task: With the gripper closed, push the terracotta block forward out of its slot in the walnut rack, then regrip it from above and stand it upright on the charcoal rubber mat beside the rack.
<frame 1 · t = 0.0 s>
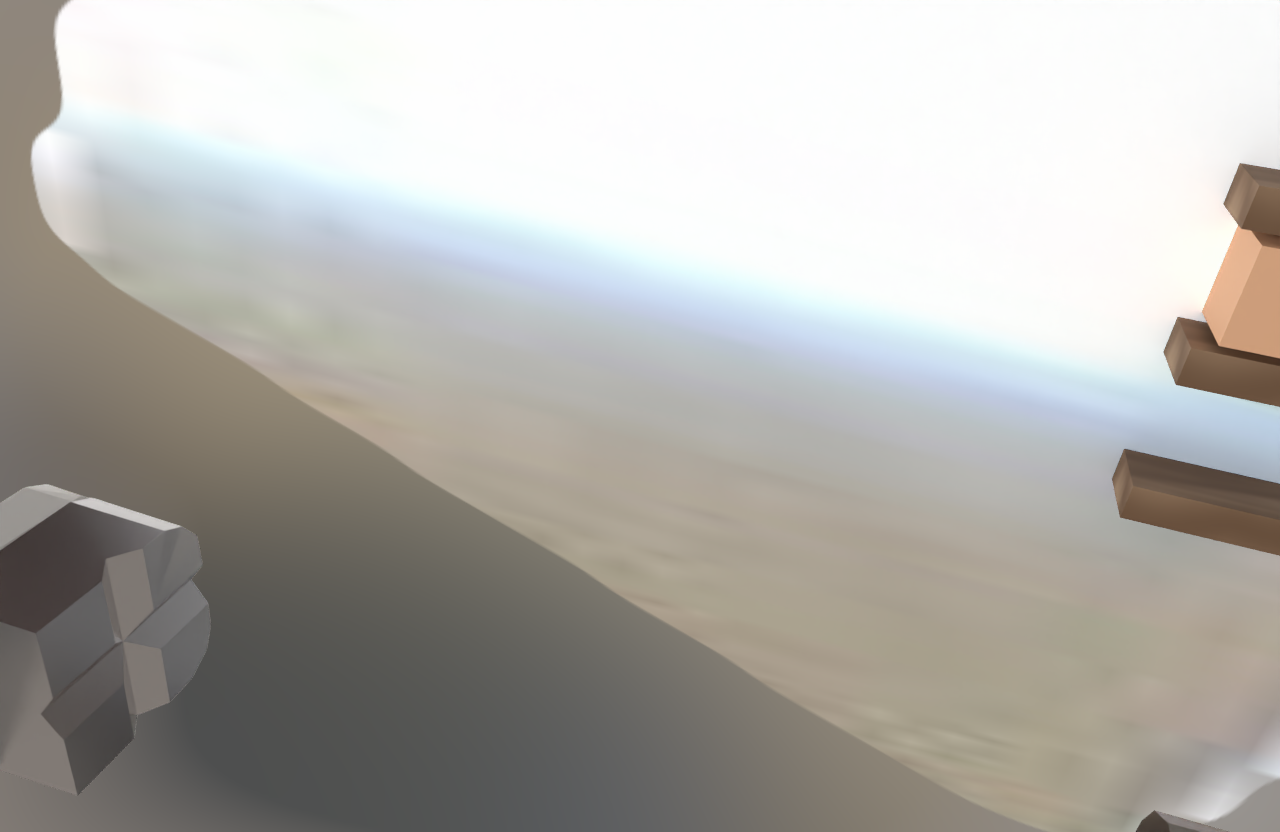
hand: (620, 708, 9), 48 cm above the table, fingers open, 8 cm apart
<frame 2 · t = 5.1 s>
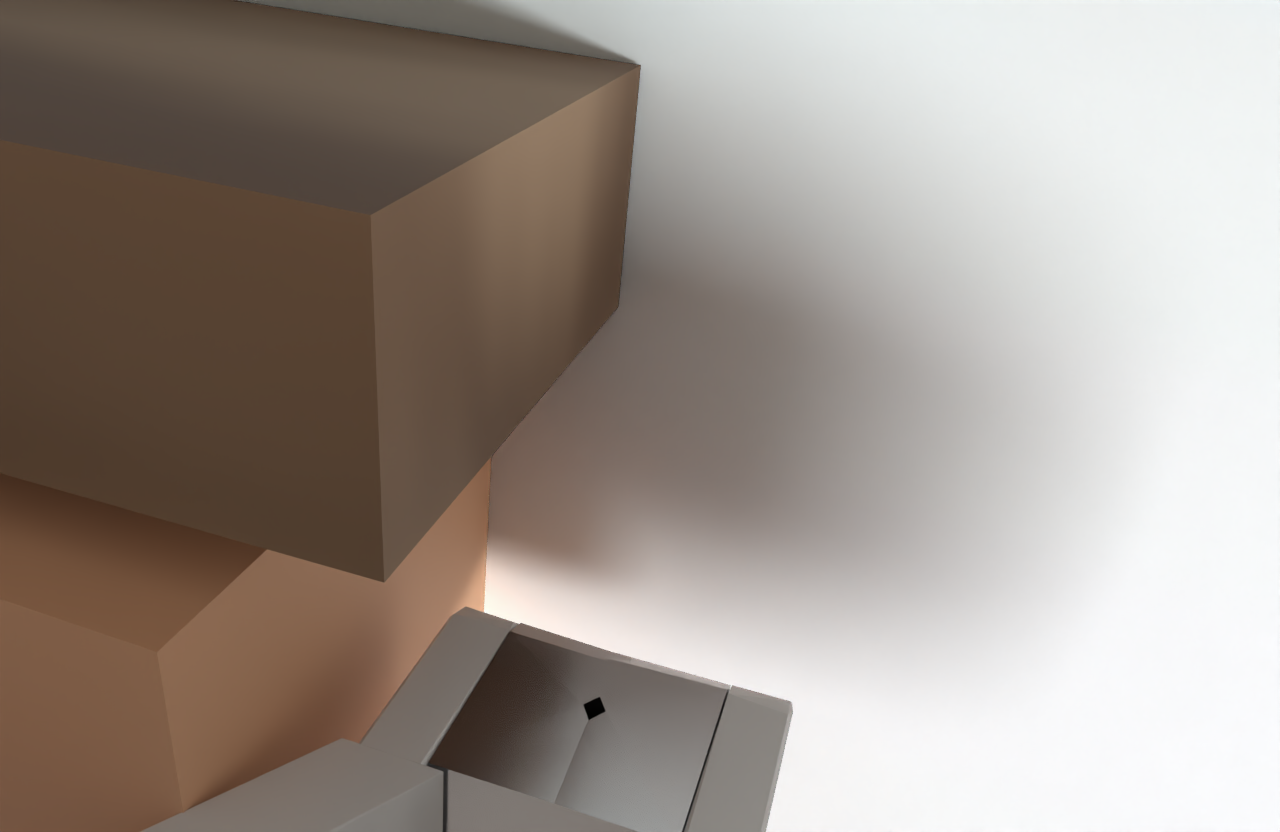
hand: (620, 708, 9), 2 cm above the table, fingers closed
terracotta block: (236, 476, 11), on the table, touching gripper
walnut rack: (89, 444, 11), on the table
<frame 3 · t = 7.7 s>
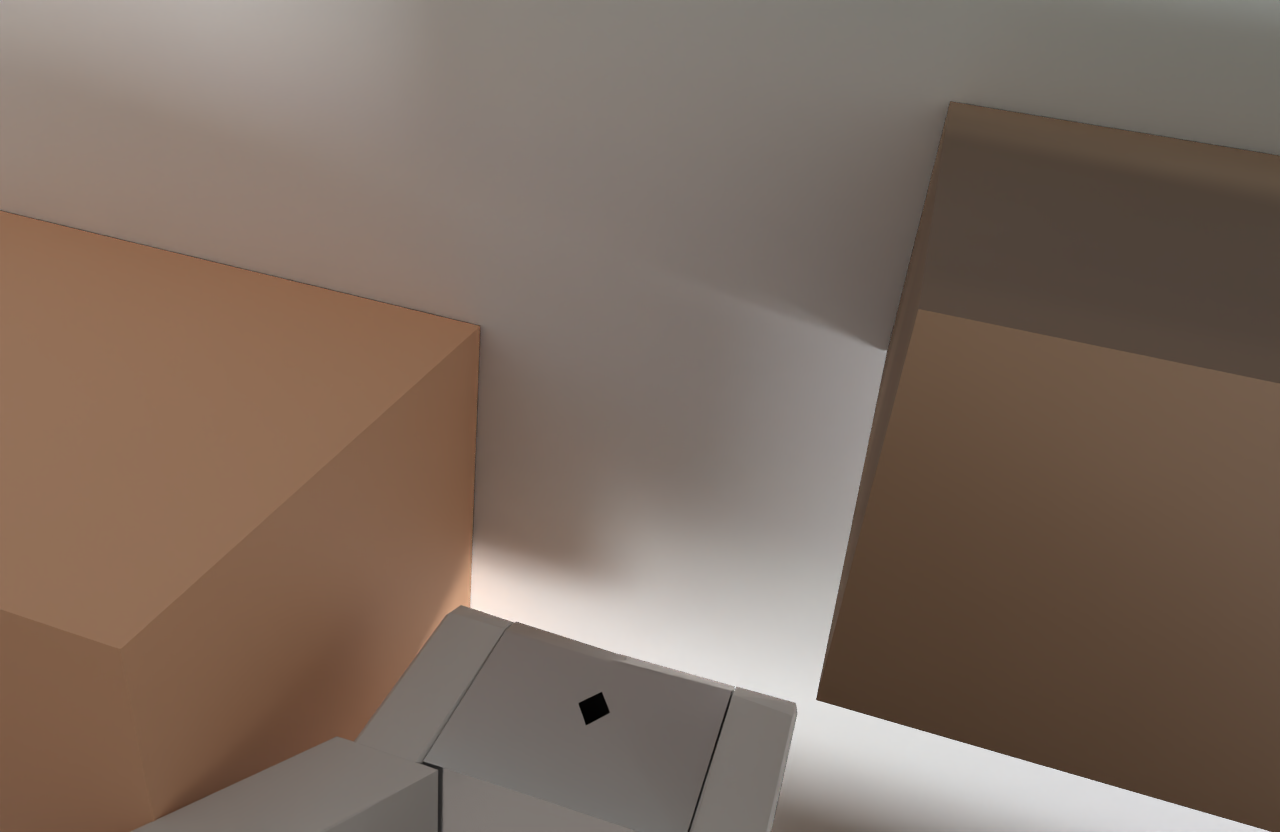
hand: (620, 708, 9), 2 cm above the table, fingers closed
terracotta block: (217, 473, 11), on the table, touching gripper
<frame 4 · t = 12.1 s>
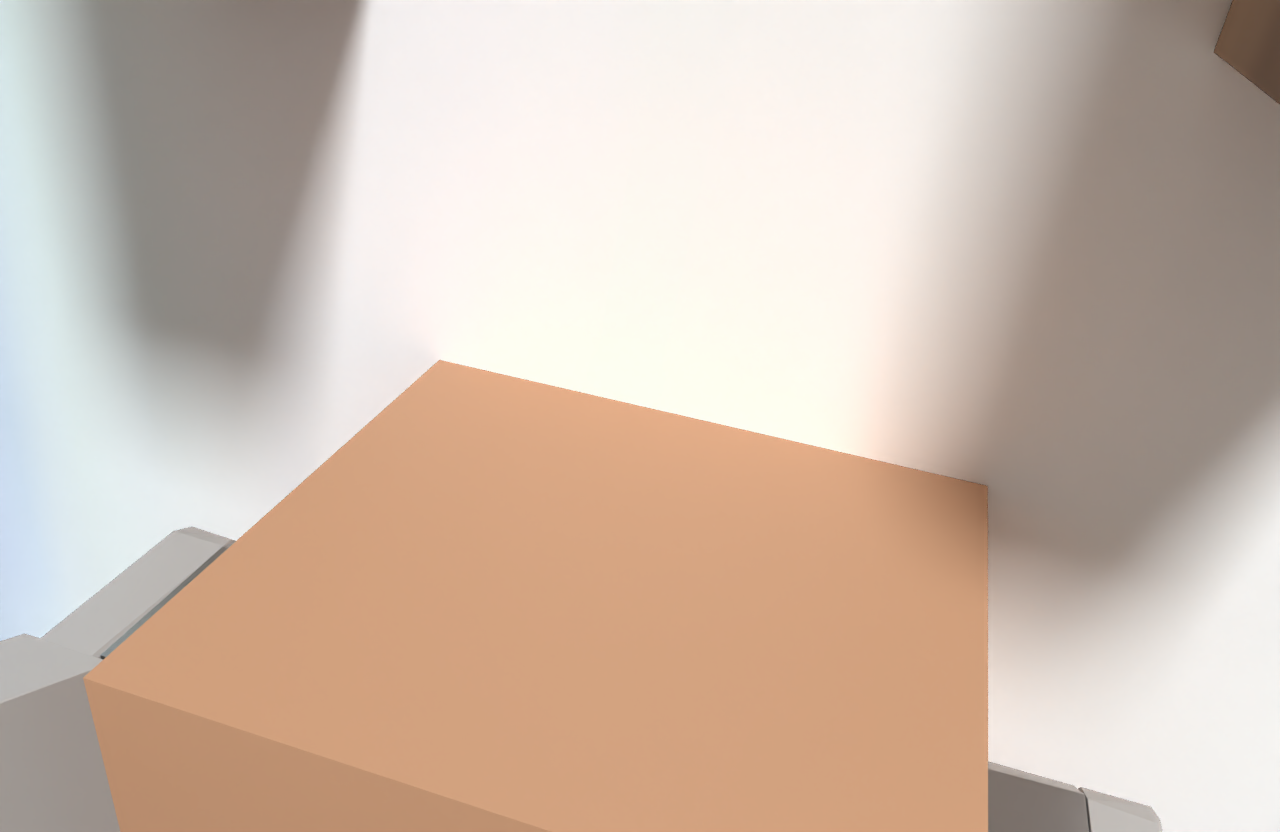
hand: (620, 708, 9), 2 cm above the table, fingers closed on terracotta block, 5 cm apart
terracotta block: (664, 665, 10), on the table, touching gripper
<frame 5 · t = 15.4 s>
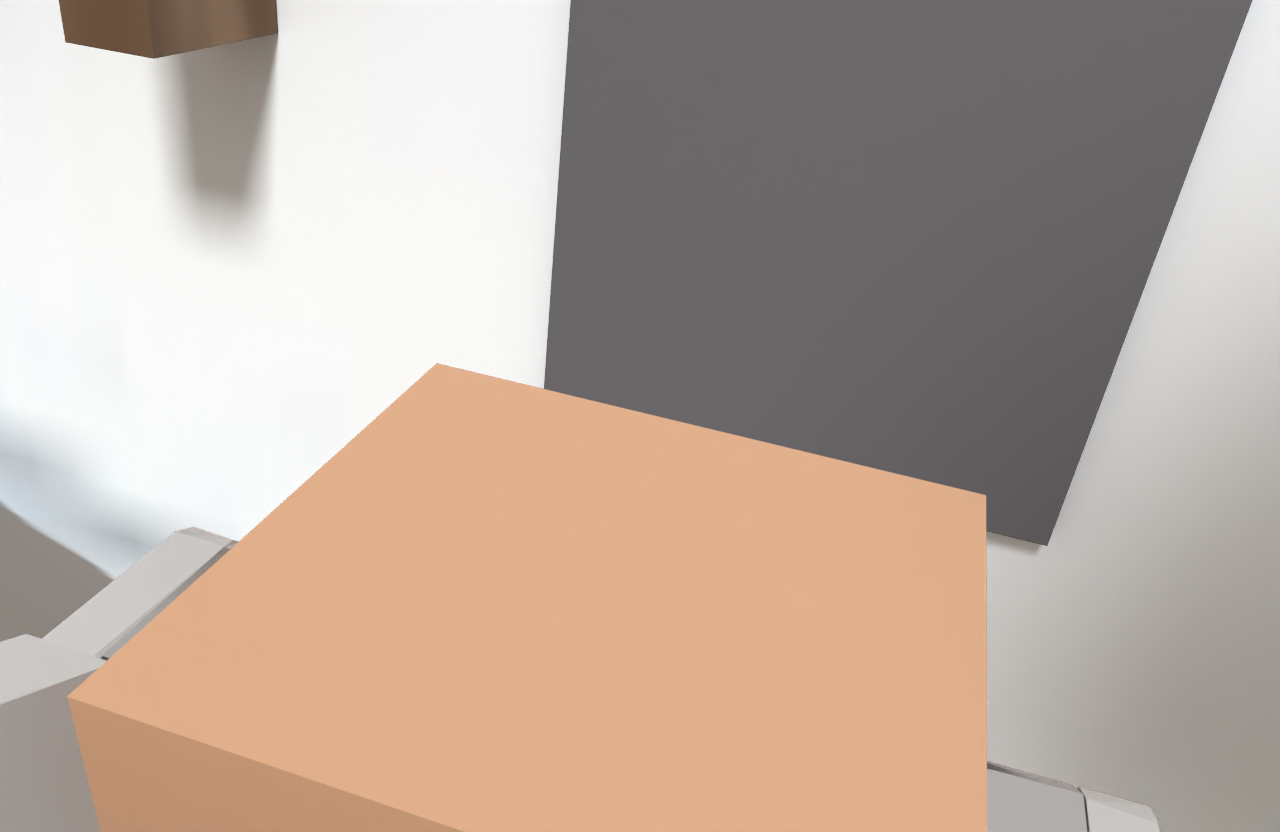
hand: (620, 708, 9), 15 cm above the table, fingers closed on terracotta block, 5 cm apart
terracotta block: (658, 675, 10), point 13 cm above the table, touching gripper
charcoal mat: (835, 230, 21), on the table
when the fingers open (3 cm above the table, at t = 18.2 s): terracotta block stays where it is, resting on charcoal mat.
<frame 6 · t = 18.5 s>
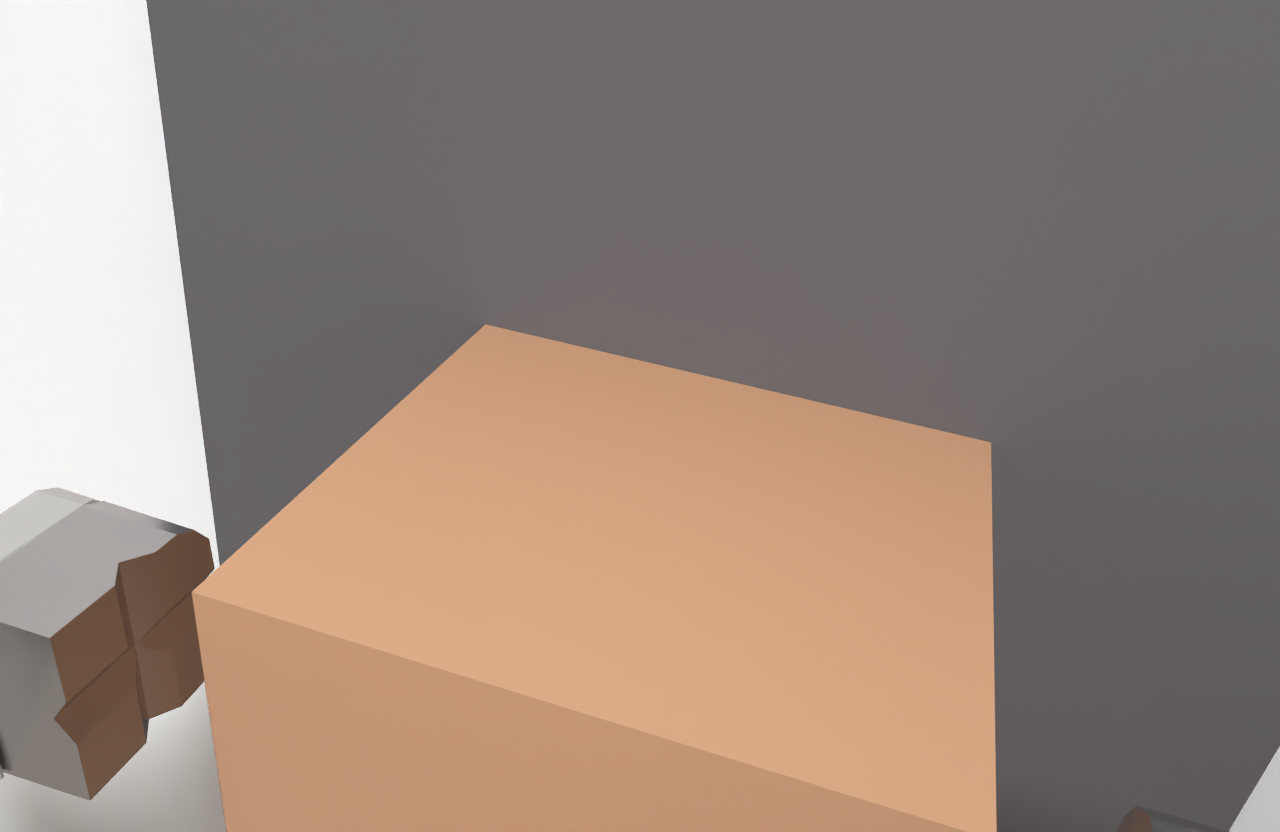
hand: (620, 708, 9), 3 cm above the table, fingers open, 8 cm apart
terracotta block: (685, 617, 11), resting on charcoal mat
charcoal mat: (700, 517, 11), on the table
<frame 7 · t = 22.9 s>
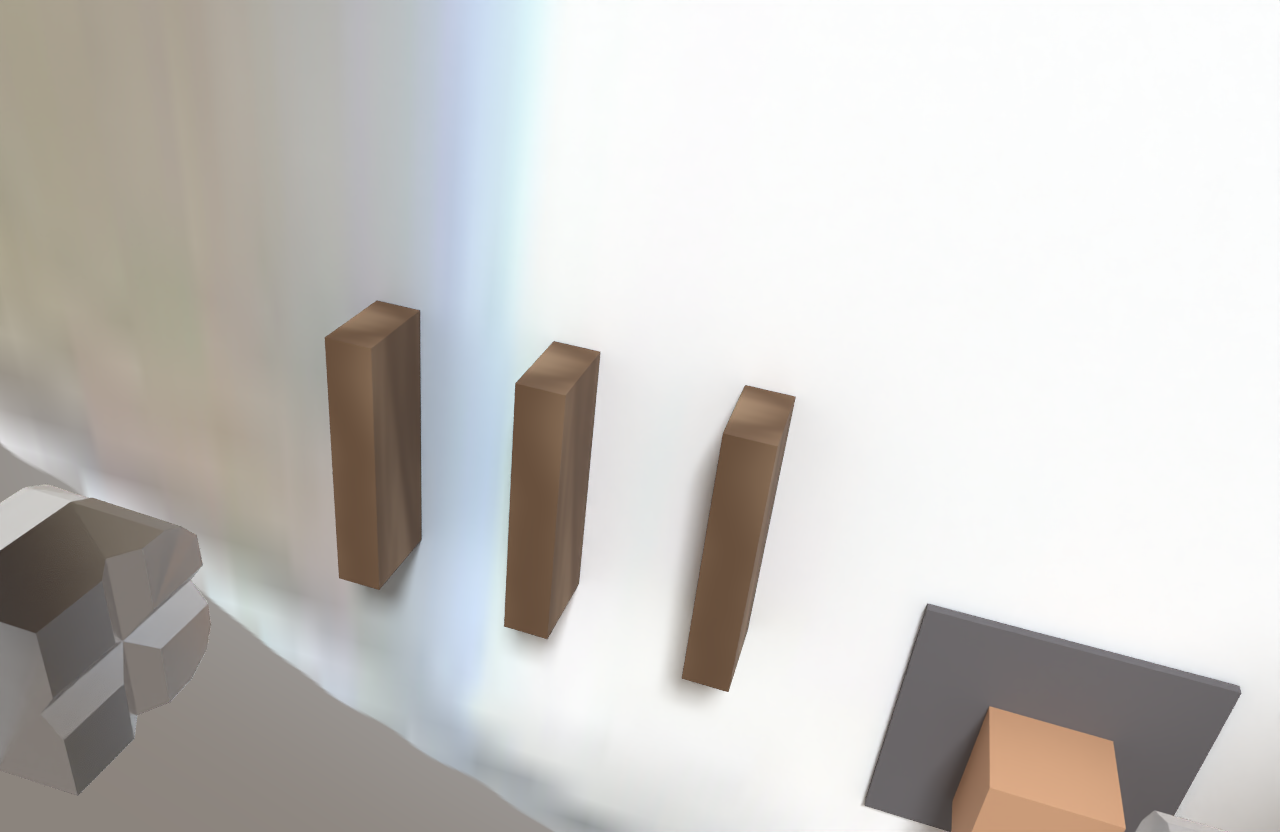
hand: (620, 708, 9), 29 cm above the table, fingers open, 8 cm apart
terracotta block: (1029, 772, 44), resting on charcoal mat
charcoal mat: (1034, 747, 44), on the table
walnut rack: (655, 492, 43), on the table
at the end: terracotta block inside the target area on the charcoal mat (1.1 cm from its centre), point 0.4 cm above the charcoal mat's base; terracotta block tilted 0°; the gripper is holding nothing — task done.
